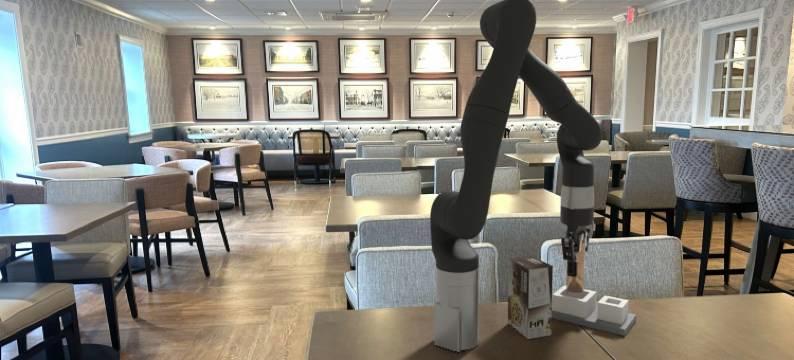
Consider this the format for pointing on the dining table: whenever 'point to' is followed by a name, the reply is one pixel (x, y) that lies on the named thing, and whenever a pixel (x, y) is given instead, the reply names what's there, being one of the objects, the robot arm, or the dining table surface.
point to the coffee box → (530, 296)
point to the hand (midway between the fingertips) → (575, 273)
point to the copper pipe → (577, 282)
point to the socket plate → (592, 311)
